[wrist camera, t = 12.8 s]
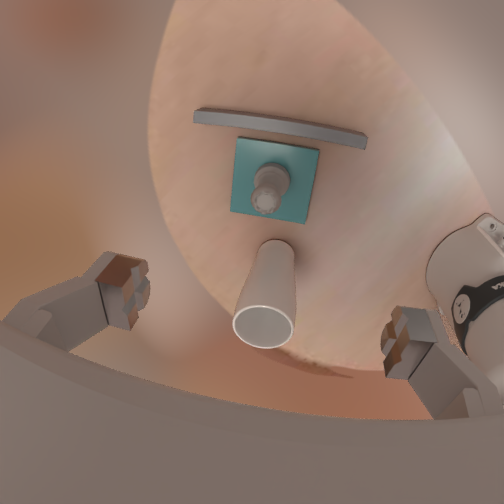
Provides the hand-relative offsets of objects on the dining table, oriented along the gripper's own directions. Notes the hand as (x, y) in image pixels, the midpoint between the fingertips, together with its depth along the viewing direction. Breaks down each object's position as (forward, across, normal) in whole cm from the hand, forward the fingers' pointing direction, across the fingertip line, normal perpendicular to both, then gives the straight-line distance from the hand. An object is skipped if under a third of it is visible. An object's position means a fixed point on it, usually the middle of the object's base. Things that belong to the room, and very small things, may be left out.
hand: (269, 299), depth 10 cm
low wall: (+31, -2, 0) cm, 31 cm away
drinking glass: (+31, 0, -18) cm, 36 cm away
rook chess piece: (+30, -2, -6) cm, 31 cm away
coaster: (+31, -2, -7) cm, 32 cm away
